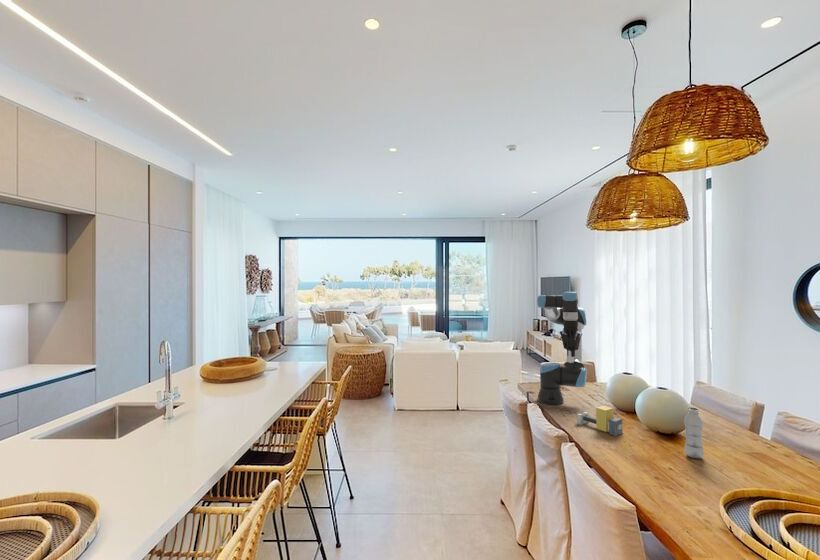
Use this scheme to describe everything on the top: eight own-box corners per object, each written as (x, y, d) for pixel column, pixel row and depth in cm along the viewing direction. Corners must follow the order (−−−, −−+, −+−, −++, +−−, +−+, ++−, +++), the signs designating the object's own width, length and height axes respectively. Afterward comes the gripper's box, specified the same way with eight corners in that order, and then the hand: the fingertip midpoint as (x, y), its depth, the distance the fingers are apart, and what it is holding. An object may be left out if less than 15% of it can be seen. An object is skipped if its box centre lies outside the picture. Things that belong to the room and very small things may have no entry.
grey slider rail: (585, 421, 201) (585, 407, 201) (624, 433, 183) (624, 419, 183) (577, 423, 197) (576, 410, 197) (616, 437, 180) (615, 422, 180)
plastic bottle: (700, 454, 160) (698, 407, 160) (706, 461, 154) (705, 412, 154) (682, 452, 162) (681, 405, 162) (688, 459, 156) (686, 410, 156)
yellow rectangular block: (603, 426, 192) (603, 405, 192) (613, 429, 187) (613, 408, 188) (596, 428, 189) (596, 407, 189) (606, 431, 184) (605, 410, 184)
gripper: (555, 319, 214) (556, 361, 214) (576, 320, 203) (577, 365, 202) (564, 318, 218) (565, 359, 217) (585, 320, 207) (586, 363, 206)
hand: (571, 362), depth 210 cm, fingers closed
